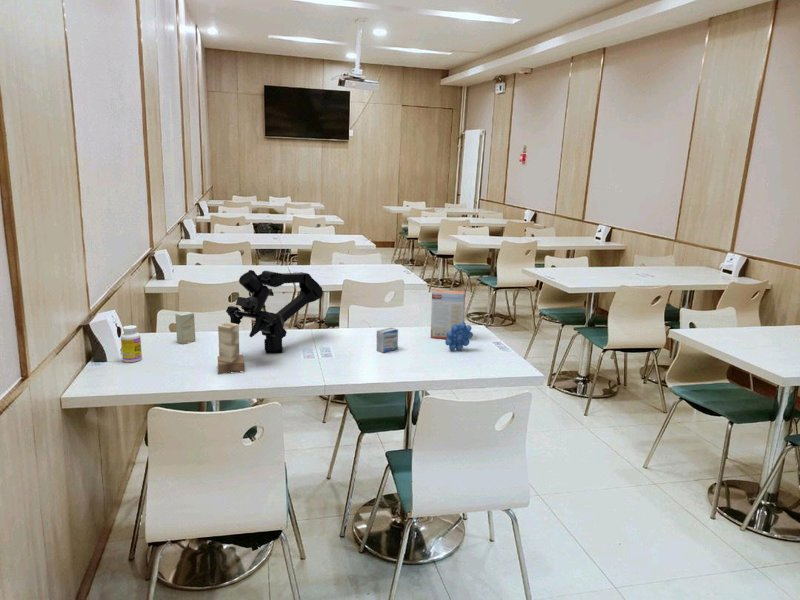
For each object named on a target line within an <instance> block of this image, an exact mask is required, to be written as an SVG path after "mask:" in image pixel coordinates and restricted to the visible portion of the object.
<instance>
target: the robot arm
mask: <svg viewBox="0 0 800 600" xmlns="http://www.w3.org/2000/svg"><path fill="white" fill-rule="evenodd" d="M238 283H239V284H240V286H242V287H243V288H244V289H245V290H246V291H247V292H248V293H251V296H247V297H242V296H237V299H236V302H235V306H234V305H229V306H227V308H226V310H225V313H227V315H228V316H229V318H230V322H229V323H234V324H239V325H240V323H242V319H243V318H249V319H255V321H254V325H253V327H252V329H251V331H250V333H249V336H248V337H250V338H253V337H254V336H255V335H257V334H258V333H259V332H261V335H262V336H265V338H264V340H263V342H264V351H265V354H280V353H284V352H283V349H284V348H283V338H285V337H286V336H287V332H288V331H287V330H286V329H285V328H284V326H285V323H286V322H287V321H288V320H289V319H290V318H292V317H293V316H294V315H295V314H297V313H298V312H299V311H300V310H301V309H302V308H304V307H305V306H306V305H308V304H309V303H313V302H316V301H317V300H320V299H321V298H322V296H323V291H324V290H323V287H322V286H321V285H320V283H318V282H317V281H316V280H315V279H314V278H313V276H311V274H310V273H307V272H303V271H302V272H286V273H281V272H276V271H270V270H263V271H262V272H261V273H260V274H257V273H256V271H254V270H252V269H249V270H248V271H247V272H245V273H243V274H242V275H240V277H239V278H238ZM284 284H298V287H299V289H300V290H299V294H298V295H297V296H296V297H294V298H293V299H292V300H291V301H289V302H288V303H287V304H286V305H284V306H283V307H282V308H281V309H280V310H278V311H277V312H276V313H274V312H270V311H265V309H266V305H265V303H266V302H267V300H268V298H269V297H274V292H273V289H272V288H278V287H281V286H282V285H284ZM269 287H271V288H269ZM238 306H240V308H241V309H242V310H241V309H240V308H239V307H238ZM263 309H264V310H263Z"/></svg>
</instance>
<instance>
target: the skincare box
mask: <svg viewBox="0 0 800 600" xmlns="http://www.w3.org/2000/svg"><path fill="white" fill-rule="evenodd" d="M174 317H175V329H176V331H175V332H176V342H177V343H178V344H181V345H185V344H188V342H190V343H193V342H192V341H194V342H196V341H195V340H196V324H195V312H191V311H185V312H184V311H183V312H179V313H175V315H174ZM184 343H185V344H184Z"/></svg>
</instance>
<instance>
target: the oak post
mask: <svg viewBox="0 0 800 600" xmlns="http://www.w3.org/2000/svg"><path fill="white" fill-rule="evenodd" d="M217 326H218V327H217V329H218V330H217V332H218V356H219V360H220V361H225V362H230V363H231V362H233V361H235V360H237V359H240V355H241V354H240V324H234V323H230V322H229V321H228V322H225V323H222V324H220V325H217Z"/></svg>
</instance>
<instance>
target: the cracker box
mask: <svg viewBox="0 0 800 600" xmlns="http://www.w3.org/2000/svg"><path fill="white" fill-rule="evenodd" d="M430 310H431V313H430V314H431V315H430V338H431V339H438V340H439V339H441V340H446V339H448V338H447V336H446V334H447V332H448V331H452V329H451V328H452V326H453V325H455V324H456V325H458V326H459V324H460V323H462V322H464V323H465V314H466V313H465V311H466V291H462V290H461V291H460V290H448V289H447V290H446V289H433V290H432V292H431V309H430Z"/></svg>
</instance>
